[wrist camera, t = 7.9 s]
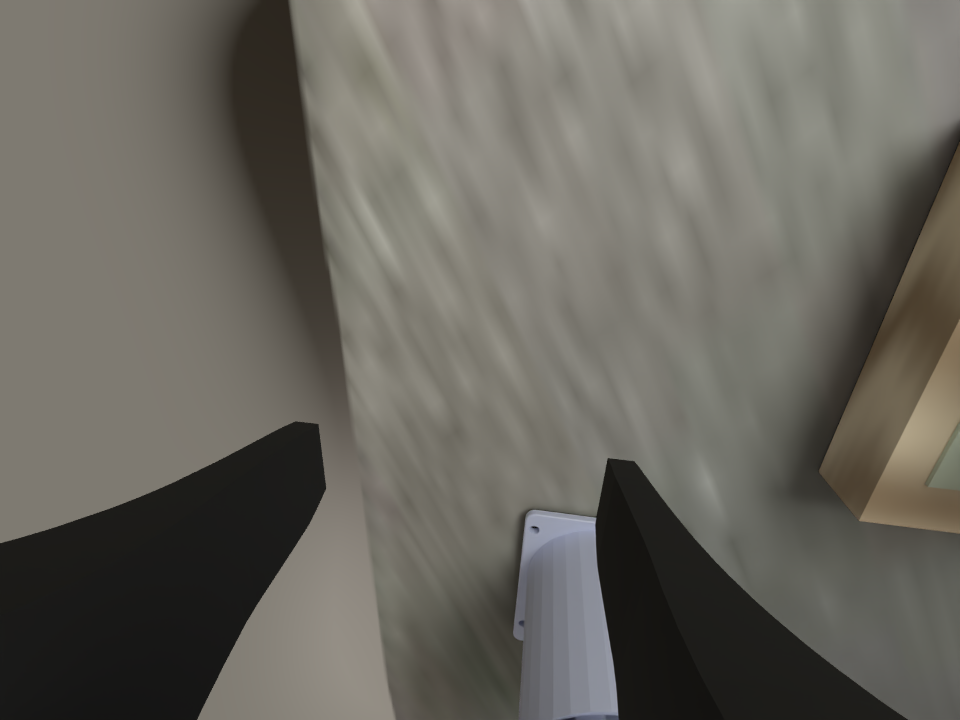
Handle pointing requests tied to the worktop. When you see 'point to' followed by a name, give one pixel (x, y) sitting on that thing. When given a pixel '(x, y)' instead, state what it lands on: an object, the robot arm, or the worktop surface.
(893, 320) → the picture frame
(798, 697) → the robot arm
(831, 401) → the worktop surface
